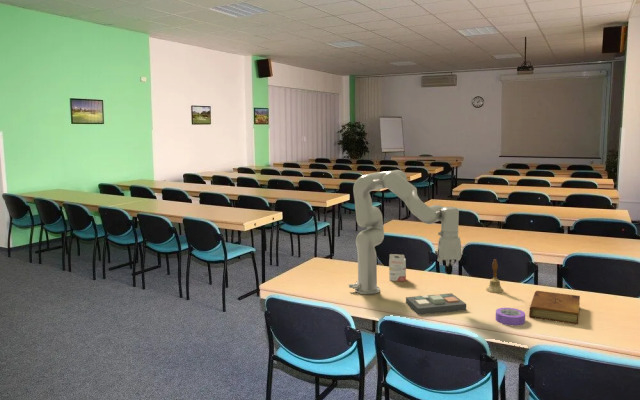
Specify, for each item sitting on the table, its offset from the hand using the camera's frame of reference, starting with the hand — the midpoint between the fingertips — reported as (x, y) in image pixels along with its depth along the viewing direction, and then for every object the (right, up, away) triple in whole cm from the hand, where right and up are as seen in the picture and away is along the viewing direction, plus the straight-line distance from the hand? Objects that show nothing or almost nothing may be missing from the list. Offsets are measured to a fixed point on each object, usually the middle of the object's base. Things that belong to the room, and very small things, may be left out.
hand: (448, 273), depth 228 cm
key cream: (-12, -15, -2) cm, 19 cm away
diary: (+45, -16, -8) cm, 48 cm away
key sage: (-6, -13, -1) cm, 14 cm away
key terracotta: (+1, -14, +1) cm, 14 cm away
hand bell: (+29, -12, +22) cm, 38 cm away
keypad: (-6, -16, +1) cm, 17 cm away
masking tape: (+22, -18, -17) cm, 33 cm away
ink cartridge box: (-17, -10, +43) cm, 47 cm away
